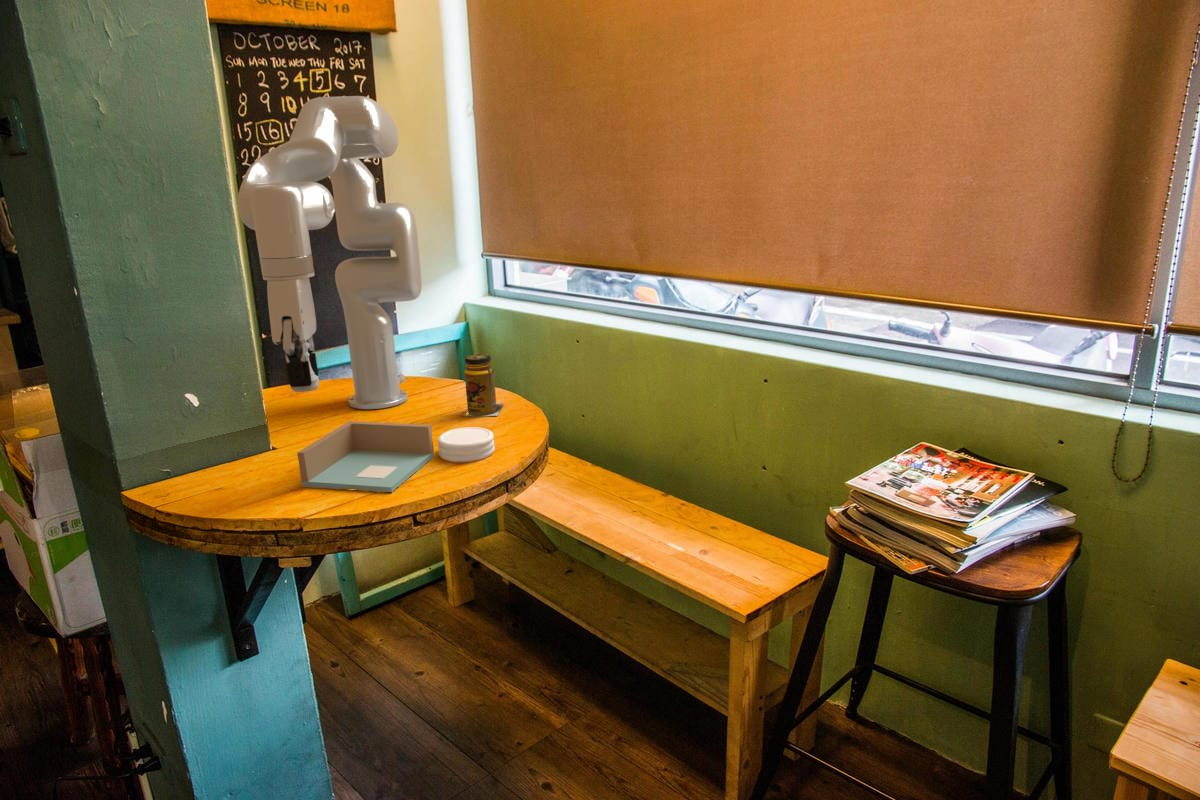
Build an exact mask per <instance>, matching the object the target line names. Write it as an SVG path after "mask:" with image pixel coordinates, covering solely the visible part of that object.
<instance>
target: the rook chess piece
mask: <svg viewBox="0 0 1200 800" xmlns="http://www.w3.org/2000/svg"><path fill="white" fill-rule="evenodd" d="M294 342H297V339H294ZM298 342H300V340H299V341H298ZM304 343H305V353H306V361H309V355H310V354H309V353H308V348H309V346H310V345H309V344H308V343H307V341H305V342H304ZM295 348H298V349H299V351H300V346H295ZM309 368H310V374H311V381H312V384H311V385H310V386H302V387H291V386H290V389H291V390H292V392H295V393H307V392H312V391H315V390H317V389H319V387H320V382H318V381H319V376H316V375H315V374H314V373H315V372H313V370H312V368H311V364H310V361H309Z"/></svg>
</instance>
